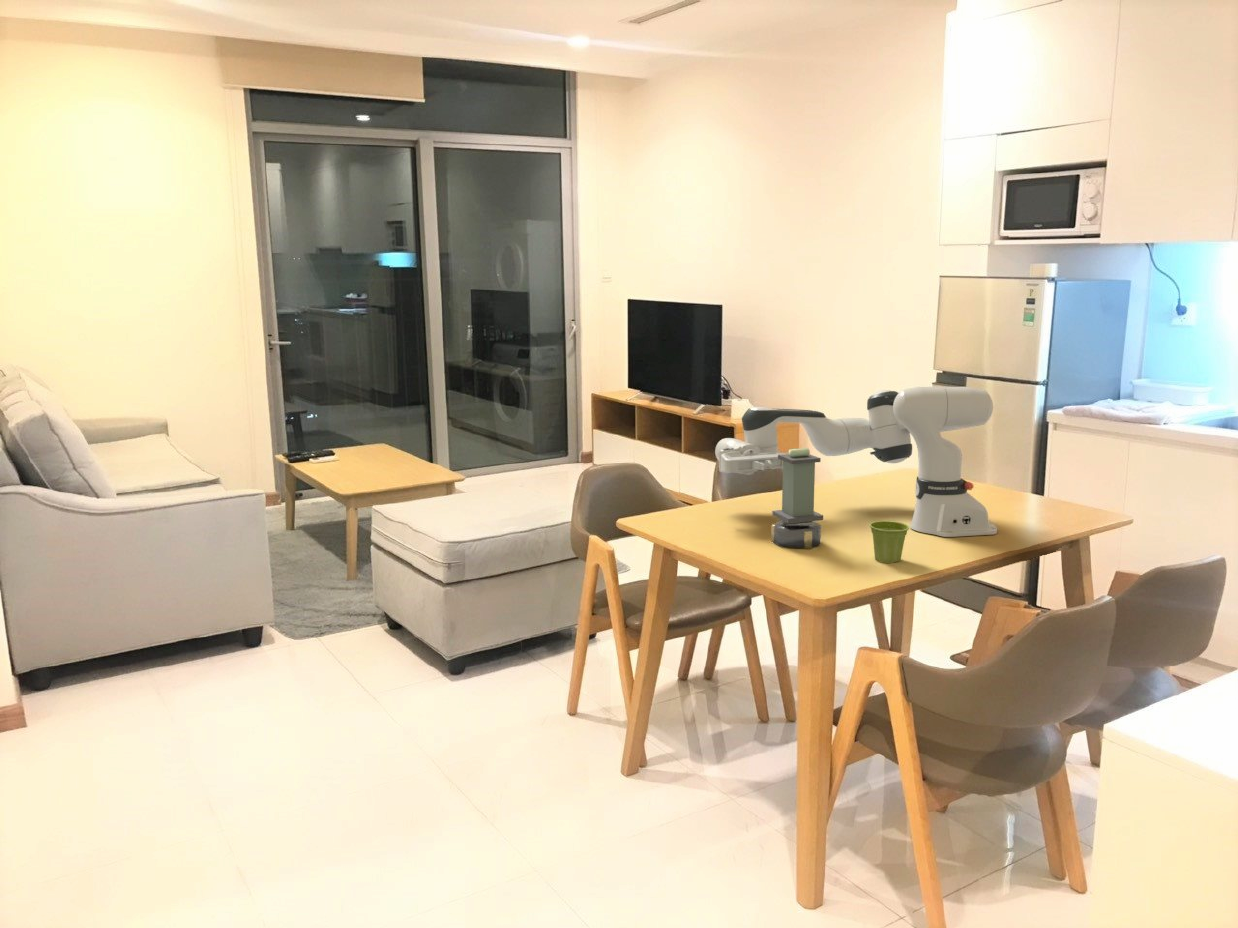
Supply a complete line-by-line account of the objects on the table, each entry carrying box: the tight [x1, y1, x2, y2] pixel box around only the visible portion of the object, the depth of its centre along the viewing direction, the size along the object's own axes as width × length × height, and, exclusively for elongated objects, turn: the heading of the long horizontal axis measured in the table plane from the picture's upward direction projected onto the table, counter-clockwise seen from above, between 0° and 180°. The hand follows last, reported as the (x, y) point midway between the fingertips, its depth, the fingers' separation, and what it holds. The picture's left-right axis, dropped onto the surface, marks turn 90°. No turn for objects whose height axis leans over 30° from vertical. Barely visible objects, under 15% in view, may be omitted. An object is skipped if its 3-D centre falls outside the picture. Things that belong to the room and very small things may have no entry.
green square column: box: [771, 447, 824, 525], centre depth 257 cm, size 10×9×20 cm
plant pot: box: [869, 520, 910, 564], centre depth 242 cm, size 9×9×9 cm
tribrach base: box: [770, 520, 822, 550], centre depth 259 cm, size 12×13×5 cm
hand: (767, 467), depth 272 cm, fingers closed
